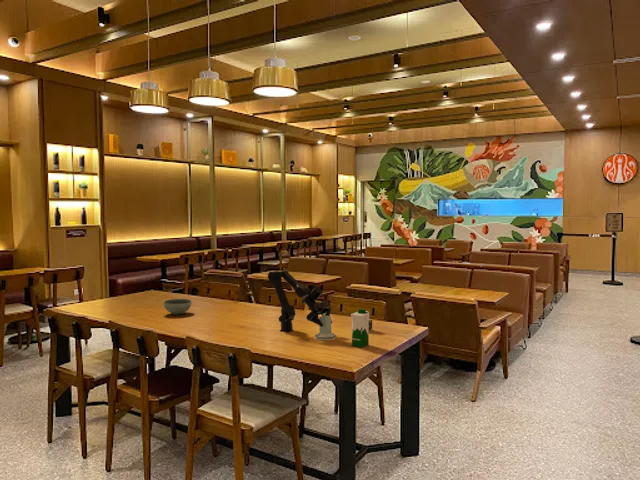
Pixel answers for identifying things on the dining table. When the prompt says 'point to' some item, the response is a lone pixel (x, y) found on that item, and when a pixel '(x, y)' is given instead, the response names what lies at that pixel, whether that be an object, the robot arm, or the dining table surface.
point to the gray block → (325, 326)
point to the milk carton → (360, 328)
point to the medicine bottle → (369, 322)
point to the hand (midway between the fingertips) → (327, 324)
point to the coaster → (325, 337)
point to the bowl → (177, 306)
